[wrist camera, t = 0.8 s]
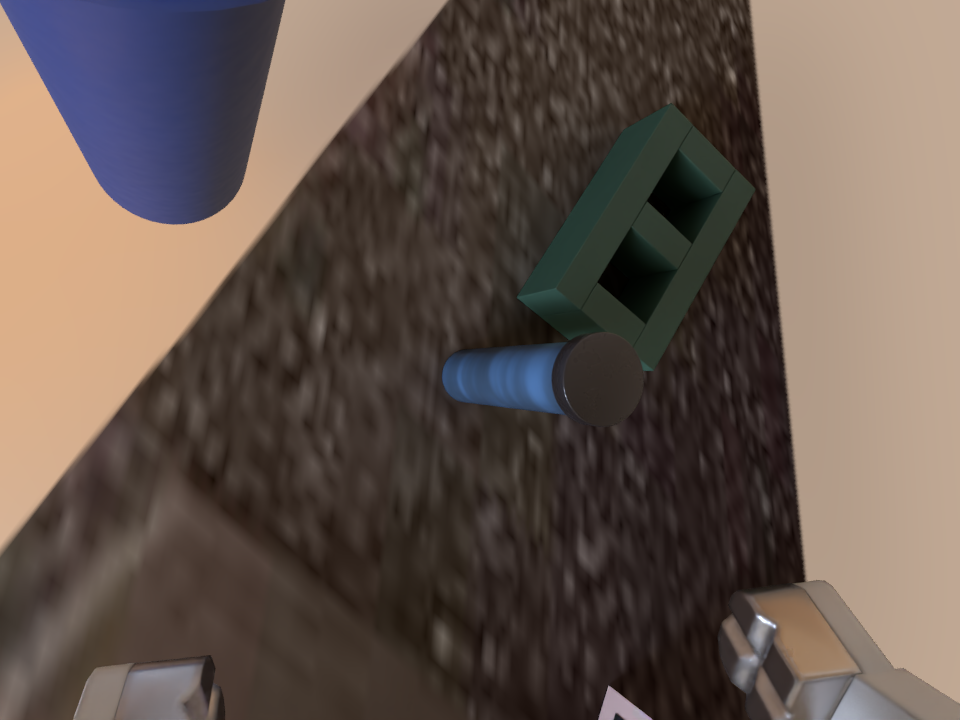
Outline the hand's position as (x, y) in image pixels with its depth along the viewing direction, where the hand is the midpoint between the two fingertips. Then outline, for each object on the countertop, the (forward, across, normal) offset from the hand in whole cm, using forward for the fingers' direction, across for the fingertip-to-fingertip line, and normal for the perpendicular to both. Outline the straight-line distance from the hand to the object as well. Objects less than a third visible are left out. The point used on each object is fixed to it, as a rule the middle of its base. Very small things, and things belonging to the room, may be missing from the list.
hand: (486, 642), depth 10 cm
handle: (+27, -4, +13) cm, 30 cm away
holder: (+33, -15, +8) cm, 37 cm away
